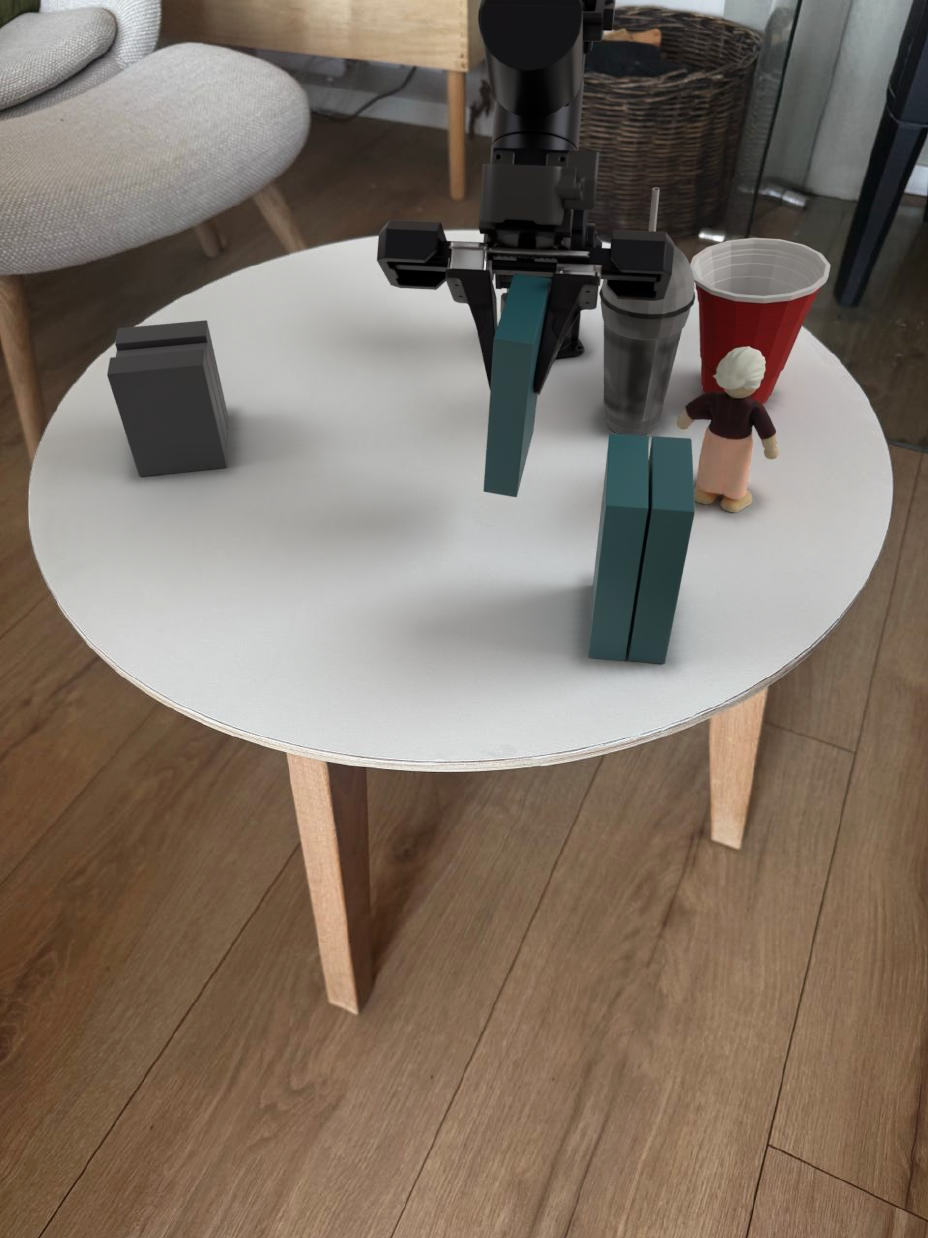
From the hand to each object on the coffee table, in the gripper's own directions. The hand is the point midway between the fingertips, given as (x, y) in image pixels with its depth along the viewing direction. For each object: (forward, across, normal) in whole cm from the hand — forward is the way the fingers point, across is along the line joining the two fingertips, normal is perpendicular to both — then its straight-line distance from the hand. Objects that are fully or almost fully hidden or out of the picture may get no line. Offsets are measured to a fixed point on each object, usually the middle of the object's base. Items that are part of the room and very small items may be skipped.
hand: (514, 392), depth 65 cm
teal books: (+15, +9, +3) cm, 17 cm away
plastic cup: (-6, +17, +24) cm, 30 cm away
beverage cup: (-2, +9, +20) cm, 22 cm away
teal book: (+4, 0, +6) cm, 7 cm away
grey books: (+3, -28, +14) cm, 32 cm away
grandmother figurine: (+4, +15, +13) cm, 21 cm away
